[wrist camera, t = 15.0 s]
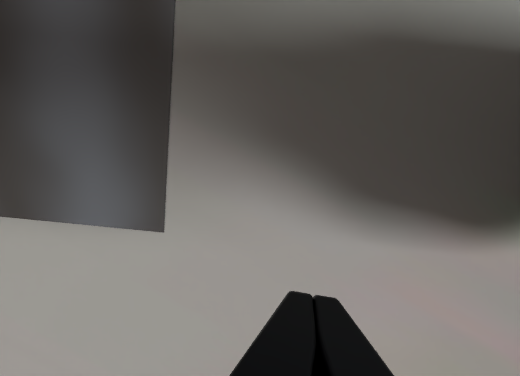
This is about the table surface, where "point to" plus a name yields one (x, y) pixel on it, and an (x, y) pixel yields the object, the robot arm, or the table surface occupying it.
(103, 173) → the dock
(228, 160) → the table surface
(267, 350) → the robot arm
